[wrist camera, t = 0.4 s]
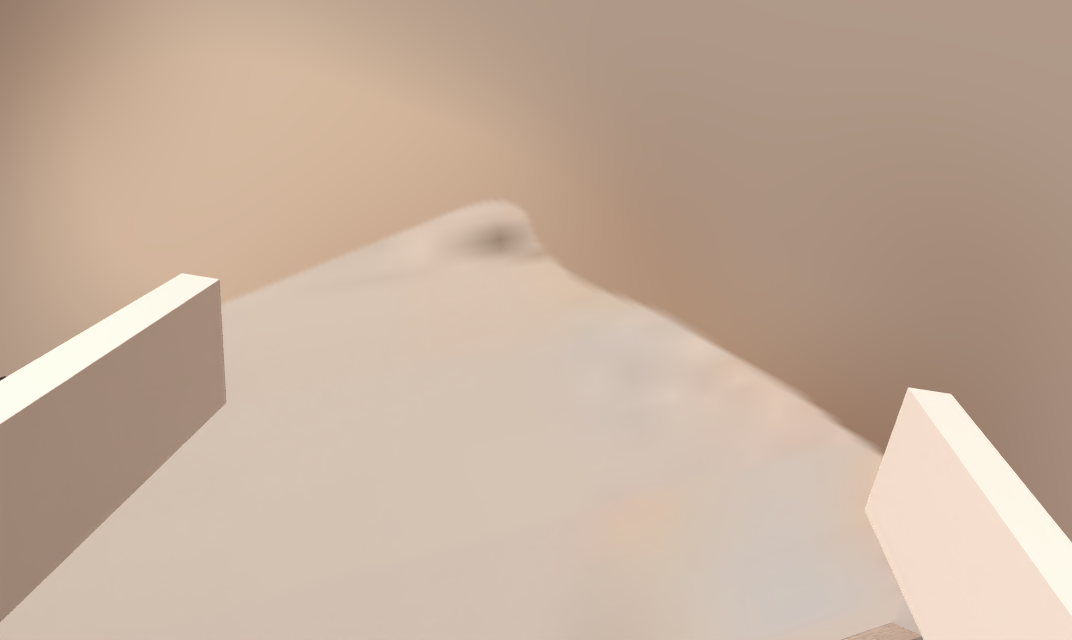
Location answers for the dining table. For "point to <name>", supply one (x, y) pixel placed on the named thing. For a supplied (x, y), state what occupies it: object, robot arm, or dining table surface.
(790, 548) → the dining table surface
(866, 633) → the socket plate
